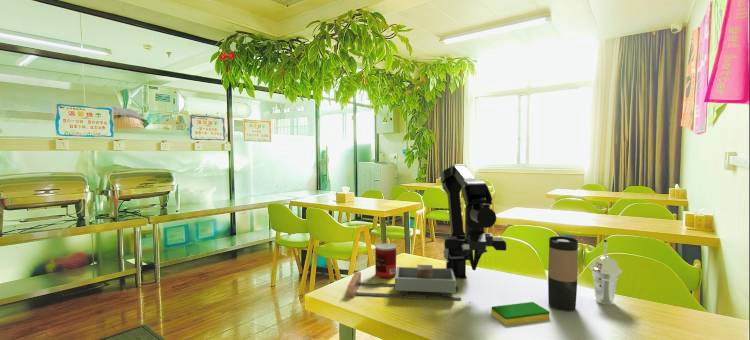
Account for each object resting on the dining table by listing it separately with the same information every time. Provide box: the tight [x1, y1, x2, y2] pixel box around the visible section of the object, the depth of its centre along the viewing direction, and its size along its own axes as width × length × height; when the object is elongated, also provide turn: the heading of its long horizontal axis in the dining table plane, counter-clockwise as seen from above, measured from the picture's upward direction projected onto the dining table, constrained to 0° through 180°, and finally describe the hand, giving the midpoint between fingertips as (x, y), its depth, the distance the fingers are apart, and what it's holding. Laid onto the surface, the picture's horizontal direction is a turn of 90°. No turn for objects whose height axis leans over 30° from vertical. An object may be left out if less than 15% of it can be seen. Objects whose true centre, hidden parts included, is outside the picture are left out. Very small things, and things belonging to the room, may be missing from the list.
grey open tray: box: [394, 266, 457, 297], centre depth 117 cm, size 19×12×6 cm, turn 83°
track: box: [347, 271, 462, 301], centre depth 118 cm, size 35×13×4 cm, turn 83°
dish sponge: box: [490, 301, 551, 326], centre depth 100 cm, size 7×14×2 cm, turn 105°
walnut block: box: [416, 264, 434, 279], centre depth 117 cm, size 5×5×5 cm
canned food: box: [374, 243, 397, 280], centre depth 133 cm, size 8×8×11 cm
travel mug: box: [547, 235, 579, 312], centre depth 106 cm, size 8×8×20 cm
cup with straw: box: [588, 239, 623, 306], centre depth 109 cm, size 8×9×20 cm
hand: (473, 269), depth 115 cm, fingers closed
